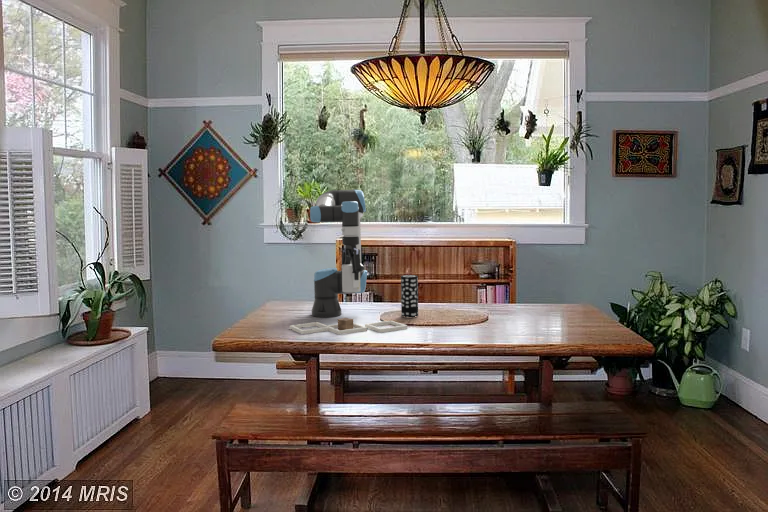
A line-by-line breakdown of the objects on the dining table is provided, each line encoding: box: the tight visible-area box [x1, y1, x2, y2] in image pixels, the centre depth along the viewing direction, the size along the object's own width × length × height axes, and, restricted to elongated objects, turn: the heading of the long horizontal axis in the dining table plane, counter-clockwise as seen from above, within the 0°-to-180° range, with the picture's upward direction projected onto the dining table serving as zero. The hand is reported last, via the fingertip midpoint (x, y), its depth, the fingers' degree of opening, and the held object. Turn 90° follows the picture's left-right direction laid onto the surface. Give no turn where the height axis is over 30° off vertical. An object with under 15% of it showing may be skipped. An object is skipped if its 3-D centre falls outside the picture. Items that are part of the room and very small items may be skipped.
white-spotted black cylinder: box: [400, 274, 419, 318], centre depth 334 cm, size 8×8×20 cm
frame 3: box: [364, 320, 408, 333], centre depth 308 cm, size 14×14×2 cm
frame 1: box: [289, 321, 330, 335], centre depth 307 cm, size 14×14×2 cm
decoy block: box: [337, 317, 355, 330], centre depth 305 cm, size 5×5×5 cm
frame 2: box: [325, 322, 368, 335], centre depth 305 cm, size 14×14×2 cm
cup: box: [341, 264, 360, 294], centre depth 305 cm, size 8×8×12 cm
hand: (351, 286), depth 305 cm, fingers closed on cup, 8 cm apart
